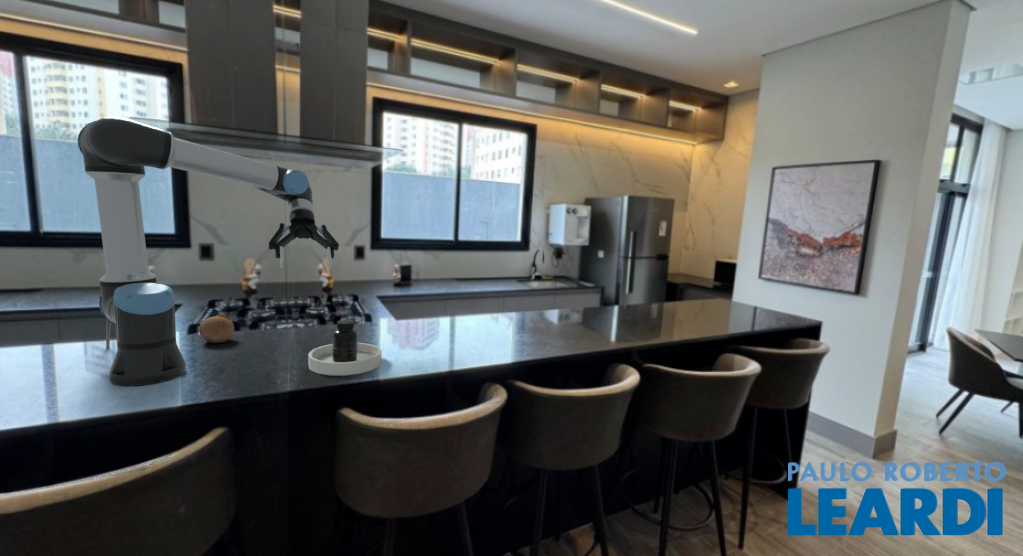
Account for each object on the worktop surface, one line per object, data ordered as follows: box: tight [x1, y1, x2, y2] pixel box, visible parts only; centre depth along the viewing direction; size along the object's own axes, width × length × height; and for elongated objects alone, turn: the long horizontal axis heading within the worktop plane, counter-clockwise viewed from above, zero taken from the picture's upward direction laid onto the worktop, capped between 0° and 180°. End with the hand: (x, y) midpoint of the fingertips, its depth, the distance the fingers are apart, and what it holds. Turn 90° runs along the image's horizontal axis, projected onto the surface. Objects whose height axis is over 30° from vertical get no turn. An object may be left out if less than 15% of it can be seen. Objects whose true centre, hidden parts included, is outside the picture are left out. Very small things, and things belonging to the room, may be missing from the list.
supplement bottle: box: [332, 319, 358, 362], centre depth 129 cm, size 7×7×12 cm
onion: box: [199, 313, 235, 344], centre depth 143 cm, size 10×9×10 cm
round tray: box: [307, 342, 382, 376], centre depth 130 cm, size 20×20×4 cm
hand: (306, 265), depth 135 cm, fingers open, 13 cm apart
